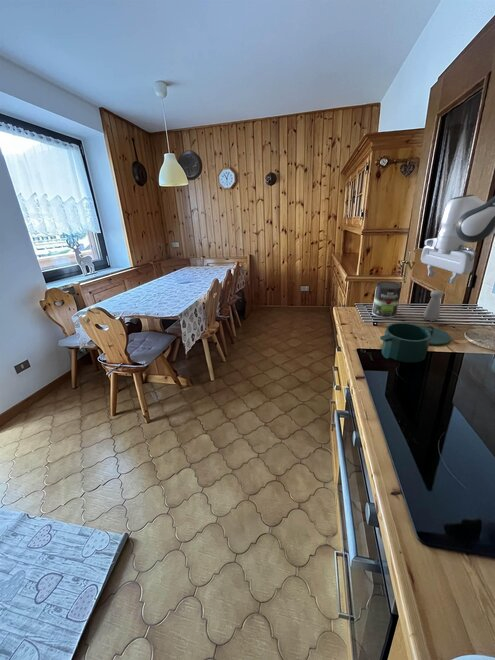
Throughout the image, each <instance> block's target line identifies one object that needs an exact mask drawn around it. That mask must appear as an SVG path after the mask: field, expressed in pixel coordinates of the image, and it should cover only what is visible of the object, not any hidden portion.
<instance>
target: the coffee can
mask: <svg viewBox="0 0 495 660" xmlns="http://www.w3.org/2000/svg"><path fill="white" fill-rule="evenodd" d="M402 288H403V285H402V284H401V283H399V282H395V281H388V280H385V281H383V280H382V281H378V282H376V284H375V292H374V299H373V303H372V304H373V305H372V310H371V314H372V315H373V316H374V317H376V318H380V319H393V318H395V317H396V316H397V311H398V306H399V301H400V296H401V291H402Z"/></svg>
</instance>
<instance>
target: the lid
mask: <svg viewBox="0 0 495 660" xmlns="http://www.w3.org/2000/svg"><path fill="white" fill-rule="evenodd" d="M421 326H422V327H423V328H428V327H429V328H430V329H432V330H434V332H433V333H431V339H430V343H429V345H433V346H434V345H435V346H439V345H441V346H442V345H446V344H449V343H450V342H451V340H452V336H451V335H450V334H449V332H446V331H445V330H442V329H440V328H438V327H434V326H432V325H421Z"/></svg>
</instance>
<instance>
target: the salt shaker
mask: <svg viewBox="0 0 495 660" xmlns="http://www.w3.org/2000/svg"><path fill="white" fill-rule="evenodd" d="M443 296H444V292H443V291H441V290H439V289H437V290H435V289H434V290H431V291H430V297H431V298H430V300H429V302H428V304H427V305H426V308H425V310H424V312H423V317H424V320H425V319H427V320H430V321H429V322H432V321H434V322H436V321H437V320H438V319H439V317H440V314H441V313H440V312H441V298H443ZM427 320H426V321H427ZM435 320H436V321H435Z"/></svg>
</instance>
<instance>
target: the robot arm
mask: <svg viewBox="0 0 495 660" xmlns="http://www.w3.org/2000/svg"><path fill="white" fill-rule="evenodd" d="M440 224H441V227H440V230H439V232H438V235H437V237H434V238H428V239H425V240H424V247H423V248H422V250H421V251H422V252H421V256H420V262H421V263H422V264H425V265H427V267H426V268H427V271H428V272H427V276H428V277H430V278H432V277H435V275H436V271H434V268H439V269H442V270H445V271H448V272H452V273H451V274H452V275H451V277H449V278H448V279H447V283H448V284H454V283H455V282H456V279H458V277H459V276H460V275H469V274H470V273H472V271H473V269H474V264H475V256H476V251H475V250H474V248H473V247H470V246H467V245H466V243H471V244H472V243H478V242H481V241H483V240H484V239H486V238H488V237H491V236H492V235H494V234H495V195H494V196H492V198H490V199H489V200H487V202H486V201H484V200H482V199H480V197H478V196H477V195H476V194H467V195H466V194H465V195H461V196H456V197H453V198H451V199H450V200H448V202H447V204H446V206H445V208H444V212H443V215H442V218H441V223H440Z"/></svg>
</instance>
